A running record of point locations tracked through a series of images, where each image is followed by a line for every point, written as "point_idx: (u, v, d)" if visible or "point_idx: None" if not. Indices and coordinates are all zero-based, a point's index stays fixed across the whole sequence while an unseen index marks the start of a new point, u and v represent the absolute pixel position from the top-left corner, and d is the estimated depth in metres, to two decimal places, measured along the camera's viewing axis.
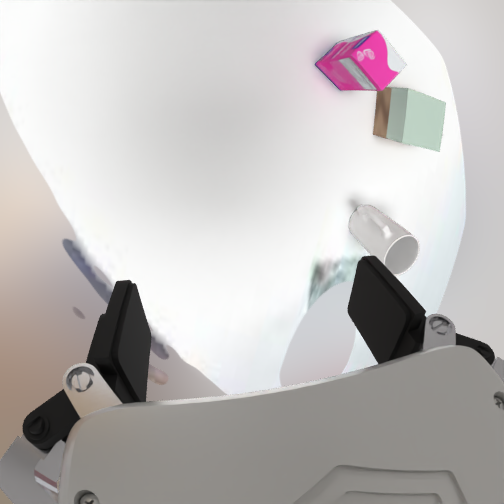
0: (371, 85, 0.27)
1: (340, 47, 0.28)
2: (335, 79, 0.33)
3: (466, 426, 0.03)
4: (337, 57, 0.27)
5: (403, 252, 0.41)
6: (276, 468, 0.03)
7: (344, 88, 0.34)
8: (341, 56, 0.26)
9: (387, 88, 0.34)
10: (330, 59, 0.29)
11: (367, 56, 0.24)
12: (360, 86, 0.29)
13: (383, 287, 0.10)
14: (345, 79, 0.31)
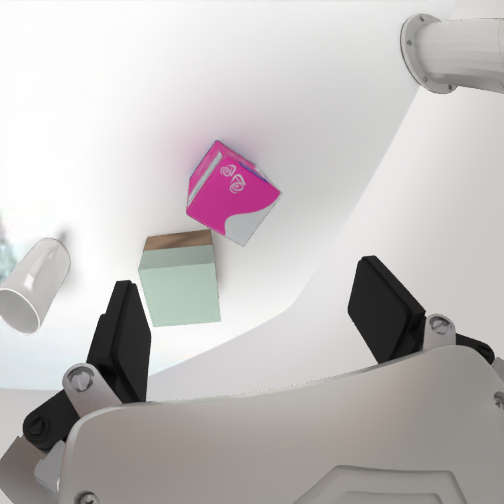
0: (191, 200, 0.23)
1: (244, 160, 0.27)
2: (200, 166, 0.29)
3: (466, 426, 0.03)
4: (223, 150, 0.24)
5: (28, 315, 0.26)
6: (276, 468, 0.03)
7: (190, 180, 0.30)
8: (224, 151, 0.23)
9: (209, 239, 0.33)
10: (221, 146, 0.25)
11: (232, 181, 0.21)
12: (191, 191, 0.25)
13: (383, 287, 0.10)
14: (199, 173, 0.27)
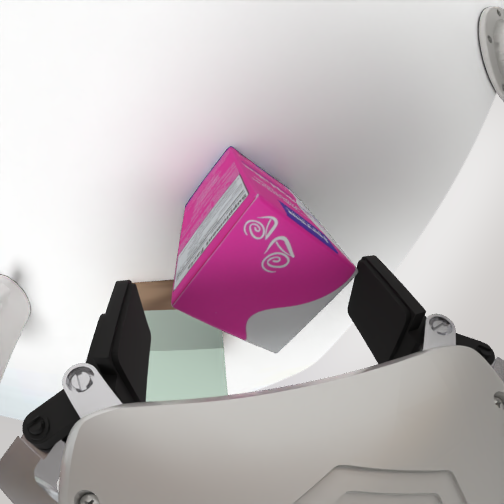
0: (181, 273, 0.12)
1: (279, 186, 0.16)
2: (202, 189, 0.18)
3: (466, 426, 0.03)
4: (246, 171, 0.12)
5: None
6: (276, 468, 0.03)
7: (186, 212, 0.19)
8: (250, 177, 0.11)
9: None
10: (240, 162, 0.14)
11: (268, 250, 0.10)
12: (183, 244, 0.14)
13: (383, 287, 0.10)
14: (198, 207, 0.16)
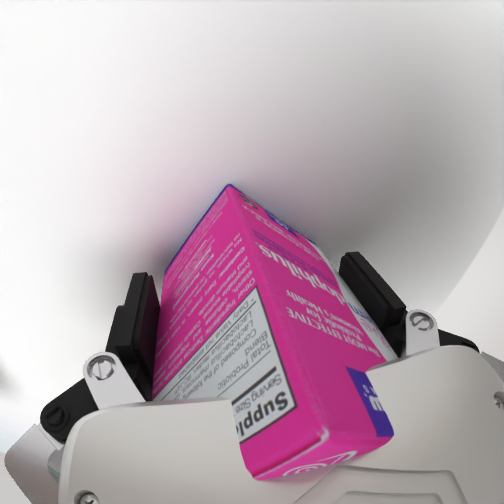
0: None
1: (313, 266, 0.10)
2: (186, 258, 0.12)
3: (466, 426, 0.03)
4: (271, 279, 0.06)
5: None
6: None
7: (164, 290, 0.12)
8: (285, 313, 0.05)
9: None
10: (252, 237, 0.08)
11: None
12: (159, 378, 0.08)
13: (364, 282, 0.10)
14: (181, 305, 0.09)
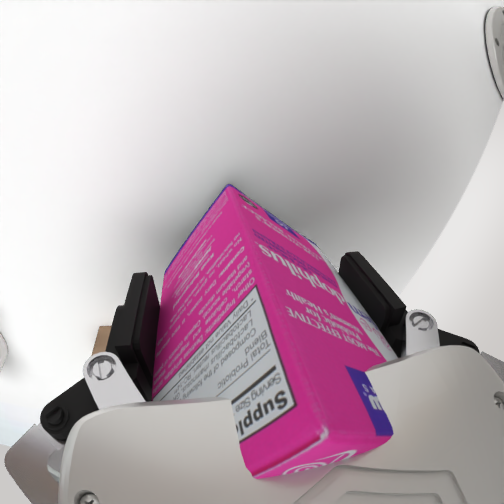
0: None
1: (313, 265, 0.10)
2: (186, 257, 0.12)
3: (466, 426, 0.03)
4: (270, 279, 0.06)
5: None
6: None
7: (164, 289, 0.12)
8: (284, 313, 0.05)
9: None
10: (252, 236, 0.08)
11: None
12: (159, 378, 0.08)
13: (364, 282, 0.10)
14: (181, 305, 0.09)
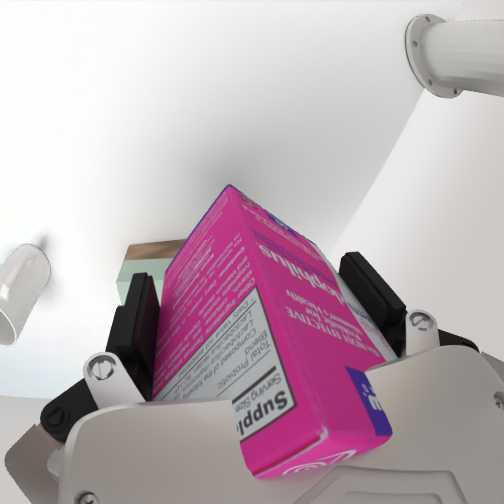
0: None
1: (313, 266, 0.10)
2: (186, 258, 0.12)
3: (466, 426, 0.03)
4: (270, 279, 0.06)
5: (6, 326, 0.23)
6: None
7: (164, 289, 0.12)
8: (284, 313, 0.05)
9: None
10: (252, 237, 0.08)
11: None
12: (159, 377, 0.08)
13: (364, 282, 0.10)
14: (181, 305, 0.09)
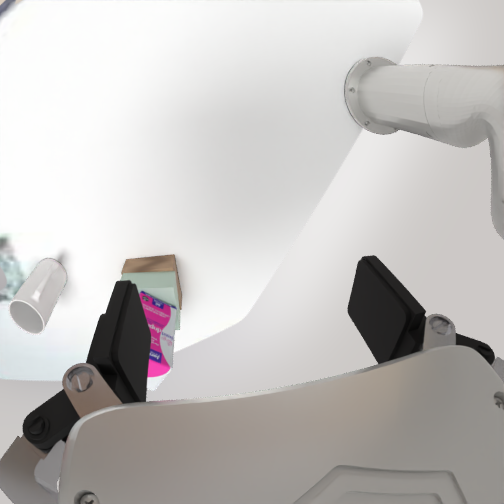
0: None
1: (157, 321, 0.34)
2: None
3: (466, 426, 0.03)
4: None
5: (34, 319, 0.35)
6: (276, 468, 0.03)
7: None
8: None
9: (172, 264, 0.41)
10: None
11: None
12: None
13: (383, 287, 0.10)
14: None
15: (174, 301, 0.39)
